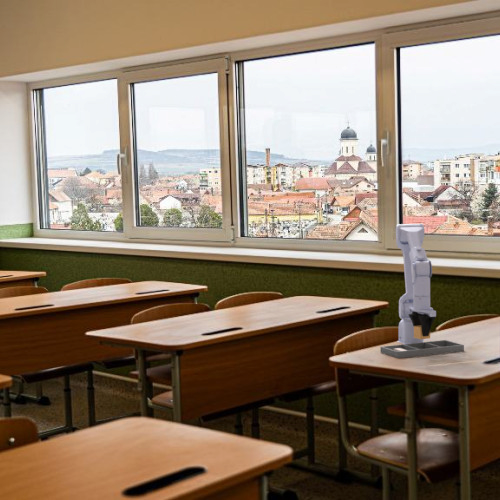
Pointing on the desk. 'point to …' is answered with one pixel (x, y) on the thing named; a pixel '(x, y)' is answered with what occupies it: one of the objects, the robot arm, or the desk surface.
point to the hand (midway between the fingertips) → (422, 334)
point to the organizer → (422, 348)
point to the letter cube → (419, 333)
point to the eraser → (400, 349)
